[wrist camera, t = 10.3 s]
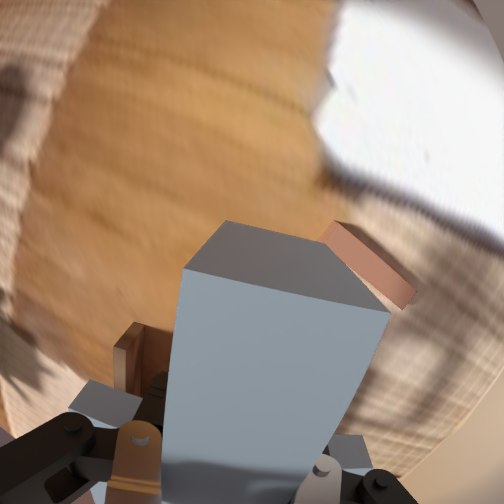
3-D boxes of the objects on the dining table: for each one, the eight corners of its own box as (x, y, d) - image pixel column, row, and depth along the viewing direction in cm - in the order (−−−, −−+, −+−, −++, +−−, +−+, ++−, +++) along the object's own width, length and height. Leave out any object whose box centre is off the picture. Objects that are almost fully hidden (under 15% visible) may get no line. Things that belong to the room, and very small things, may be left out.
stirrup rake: (96, 193, 11) (-21, 212, 5) (438, 273, 11) (536, 336, 5) (110, 498, 16) (88, 552, 10) (284, 534, 16) (286, 591, 10)
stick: (406, 283, 27) (417, 291, 25) (392, 300, 28) (402, 310, 25) (332, 219, 26) (339, 223, 24) (317, 240, 26) (322, 245, 24)
